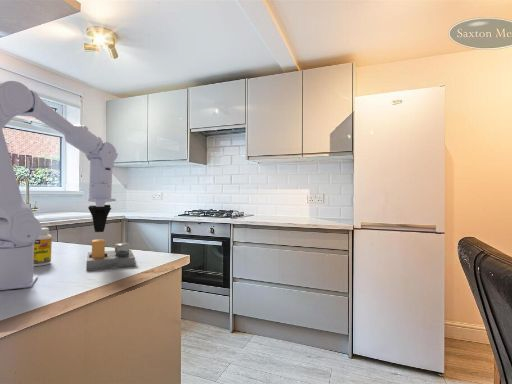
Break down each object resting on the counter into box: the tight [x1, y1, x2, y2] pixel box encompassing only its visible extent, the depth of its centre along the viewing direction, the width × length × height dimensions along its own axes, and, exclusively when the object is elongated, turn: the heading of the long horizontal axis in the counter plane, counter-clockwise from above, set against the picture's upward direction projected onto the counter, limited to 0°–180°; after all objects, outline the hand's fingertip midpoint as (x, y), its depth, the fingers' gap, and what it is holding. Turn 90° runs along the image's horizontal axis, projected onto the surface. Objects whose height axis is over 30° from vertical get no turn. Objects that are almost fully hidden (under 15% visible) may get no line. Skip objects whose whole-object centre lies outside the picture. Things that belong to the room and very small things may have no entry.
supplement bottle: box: [33, 227, 53, 267], centre depth 82 cm, size 6×6×10 cm
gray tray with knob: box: [85, 242, 136, 271], centre depth 85 cm, size 12×12×6 cm
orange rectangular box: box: [91, 238, 106, 258], centre depth 84 cm, size 3×3×7 cm
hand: (99, 230), depth 84 cm, fingers open, 7 cm apart
